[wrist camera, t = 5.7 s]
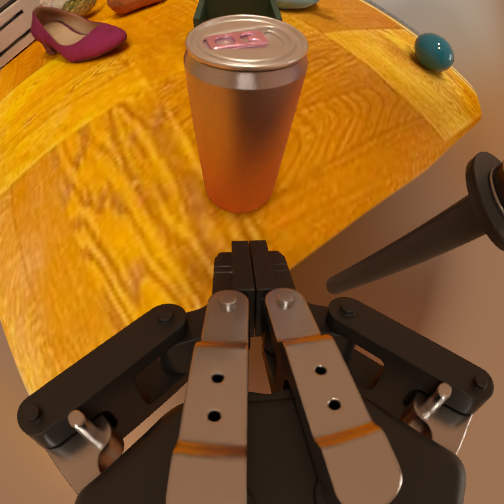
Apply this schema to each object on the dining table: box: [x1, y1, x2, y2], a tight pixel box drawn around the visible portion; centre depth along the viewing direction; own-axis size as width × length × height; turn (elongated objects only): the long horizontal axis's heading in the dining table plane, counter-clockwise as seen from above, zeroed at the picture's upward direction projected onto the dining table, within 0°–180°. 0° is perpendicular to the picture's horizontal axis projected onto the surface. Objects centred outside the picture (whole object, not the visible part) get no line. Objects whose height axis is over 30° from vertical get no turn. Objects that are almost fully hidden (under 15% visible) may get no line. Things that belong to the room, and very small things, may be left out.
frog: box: [39, 0, 96, 17], centre depth 30 cm, size 12×13×18 cm
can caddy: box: [193, 0, 282, 28], centre depth 27 cm, size 9×11×7 cm
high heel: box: [31, 6, 127, 63], centre depth 24 cm, size 9×26×12 cm, turn 67°
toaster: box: [0, 0, 41, 68], centre depth 21 cm, size 23×25×17 cm
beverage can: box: [184, 15, 308, 213], centre depth 17 cm, size 6×6×15 cm
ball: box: [414, 33, 454, 72], centre depth 30 cm, size 8×8×8 cm
